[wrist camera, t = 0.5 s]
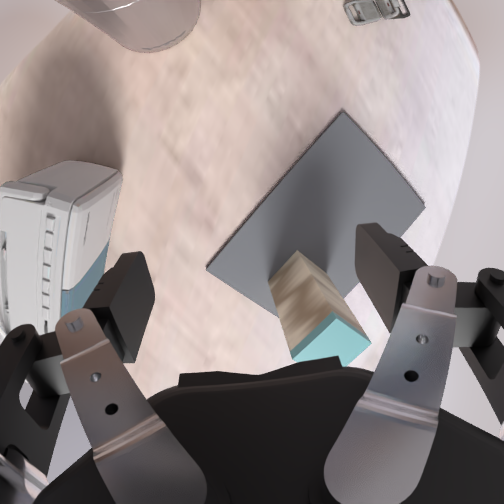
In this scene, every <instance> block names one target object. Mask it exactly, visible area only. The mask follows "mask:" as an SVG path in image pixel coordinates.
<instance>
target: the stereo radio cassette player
mask: <svg viewBox="0 0 504 504" xmlns="http://www.w3.org/2000/svg"><path fill="white" fill-rule="evenodd" d="M122 181H123V175H122V174H121V173H120V172H119V171H118V170H117V169H113V168H110V167H106V166H102V165H98V164H93V163H88V162H82V161H72V160H67V161H63V162H60V163H58V164H55V165H53V166H50V167H48V168H45V169H43V170H40V171H38V172H36V173H33V174H31V175H29V176H26V177H24V178H22V179H20V180H17V181H16V182H14V181H10V182H6V183H4V184H3V185H1V186H0V345H1V343H2V342H3V340H4V338H5V337H6V335H7V334H8V333H9V332H10V331H11V330H13V329H14V328H16V327H18V326H20V325H23V324H32V325H33V326H34V327H35V329H36V330H37V332H38V334H39V335H42V334H46V333H49V332H53V331H55V326H56V324H57V322H58V321H59V319H60V318H61V317H63V316H64V315H65V314H67V313H69V312H70V311H73V310H76V309H81V308H82V307H83V306H84V304H85V302H86V301H87V299H88V298H89V296H90V294H91V293H92V291H94V290H93V289H94V288H95V286H96V285H98V281H99V280H100V278H101V277H102V275H103V274H104V268H105V262H106V257H107V251H108V246H109V240H110V235H111V230H112V225H113V221H114V216H115V212H116V207H117V203H118V199H119V194H120V190H121V186H122ZM25 382H27V380H26V379H25ZM27 383H28V382H27Z"/></svg>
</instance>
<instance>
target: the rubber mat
mask: <svg viewBox="0 0 504 504" xmlns="http://www.w3.org/2000/svg"><path fill="white" fill-rule="evenodd" d="M425 208H426V207H425V206H424V204H423V203H422V202H421V200H420V199H419V198H418V197H417V195H416V194H415V193H414V191H413V190H412V189H411V188H410V186H409V185H408V184H407V183H406V181H405V180H404V179H403V178H402V176H401V175H400V174H399V173H398V172H397V170H396V169H395V168H394V167H393V166H392V164H391V163H390V162H389V161H388V160H387V159H386V157H385V156H384V155H383V154H382V153H381V152H380V151H379V149H378V148H377V147H376V146H375V145H374V144H373V143H372V142H371V141H370V139H369V138H368V137H367V136H366V135H365V134H364V133H363V132H362V131H361V130H360V129H359V128H358V127H357V126H356V125H355V123H354V122H353V121H352V120H351V119H350V118H349V117H348V116H347V115H346V114H345V113H344V112H341V113H340V115H339V116H338V117H337V118H336V119H335V120H334V121H333V122H332V123H331V125H330V126H329V127H328V128H327V129H326V130H325V131H324V132H323V134H322V135H321V136H320V137H319V138H318V139H317V140H316V141H315V143H314V144H313V145H312V146H311V147H310V148H309V149H308V150H307V152H306V153H305V154H304V155H303V156H302V157H301V158H300V160H299V161H298V162H297V163H296V164H295V165H294V166H293V168H292V169H291V170H290V171H289V172H288V173H287V174H286V176H285V177H284V178H283V179H282V180H281V181H280V182H279V184H278V185H277V186H276V187H275V188H274V189H273V190H272V192H271V193H270V194H269V195H268V196H267V197H266V199H265V200H264V201H263V202H262V203H261V204H260V206H259V207H258V208H257V209H256V210H255V211H254V213H253V214H252V215H251V216H250V217H249V218H248V220H247V221H246V222H245V223H244V224H243V225H242V227H241V228H240V229H239V230H238V231H237V232H236V234H235V235H234V236H233V237H232V238H231V240H230V241H229V242H228V243H227V244H226V245H225V247H224V248H223V249H222V250H221V251H220V253H219V254H218V255H217V256H216V257H215V259H214V260H213V261H212V262H211V263H210V265H209V266H208V267H207V268H206V271H208V272H209V273H211V274H212V275H214V276H215V277H217V278H218V279H220V280H221V281H223V282H224V283H226V284H227V285H229V286H230V287H232V288H234V289H235V290H237V291H238V292H240V293H241V294H243V295H244V296H246V297H247V298H249V299H250V300H252V301H253V302H255V303H257V304H258V305H260V306H261V307H263V308H264V309H266V310H267V311H269V312H271V313H272V314H274V315H275V316H277V317H278V318H279V316H278V312H277V309H276V306H275V303H274V300H273V297H272V294H271V291H270V287H269V284H268V281H269V280H270V279H271V278H272V277H273V276H274V275H275V274H276V273H277V271H278V270H279V269H280V268H281V267H282V266H283V265H284V264H285V263H286V262H287V261H288V260H289V258H290V257H291V256H292V255H293V254H294V253H295V252H296V251H297V250H298V251H299V252H300V253H302V254H303V255H304V256H305V257H307V258H308V259H309V260H310V261H312V262H313V263H314V264H315V265H317V266H318V267H319V268H320V269H322V270H323V271H324V272H325V273H327V275H328V276H329V278H330V279H331V281H332V282H333V284H334V285H335V287H336V288H337V290H338V291H339V293H340V295H341V296H342V298H343V299H344V298H345V296H346V295H347V294H348V293H349V292H350V291H351V290H352V289H353V288H354V287H355V286H356V285H357V284H358V283H359V282H360V281H359V279H358V277H357V275H356V271H355V237H356V227H357V225H358V224H365V223H374V222H377V223H378V224H379V225H380V226H381V227H382V228H383V229H384V230H385V231H386V232H387V233H391V234H393V235H395V236H397V237H401V236H402V235H403V234H404V233H405V231H406V230H407V229H408V228H409V227H410V226H411V224H412V223H413V222H414V221H415V220H416V219H417V217H418V216H419V215H420V214H421V213H422V211H423V210H424V209H425Z"/></svg>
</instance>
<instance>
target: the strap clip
mask: <svg viewBox="0 0 504 504" xmlns="http://www.w3.org/2000/svg"><path fill="white" fill-rule="evenodd" d="M401 2H402V4H403V6H404V8H405V10H406V13H407V14H406V15H403V14H402V12H401V10H400V8H399V7H400V5H399V3H398V1H397V0H376V3H377V5H378V7H379V9H380V11H381V14H382V16H383V18H384V19H400V18H405V17H408V16H410V12H409V10H408V8H407V6H406V4H405V1H404V0H401ZM350 5H353V7H354V9H355V11H356V13H357V15H358V18H359V20H360V22H356V21H355V19H354V17H353V15H352V13H351V11H350V9H349V7H348V6H350ZM343 7H344V10H345V12H346V14H347V16H348V18H349V20H350V22H351V24H352V25H355V26H360V25H365V24H369V23H373V22H376V21H379V20H380V18H381V15H380V12H379V10H378V8H377V6H376V4H375V2H374V1H372V0H355V1H351V2H348V3H346V4H345V5H344V6H343Z"/></svg>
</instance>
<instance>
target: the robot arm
mask: <svg viewBox="0 0 504 504" xmlns="http://www.w3.org/2000/svg"><path fill="white" fill-rule="evenodd" d="M55 1H57V2H58V3H60V4H62V5H64V6H65V7H67V8H68V9H70V10H71V11H73V12H74V13H76V14H78V15H79V16H81V17H82V18H84V19H85V20H87V21H88V22H90V23H91V24H93V25H94V26H95V27H97V28H98V29H100V30H101V31H103V32H104V33H106V34H107V35H108V36H110V37H111V38H113V39H114V40H115V41H117V42H118V43H120V44H121V45H122V46H124V47H126V48H128V49H130V50H132V51H136V52H144V53H151V52H158V51H161V50H165V49H168V48H170V47H172V46H174V45H176V44H178V43H179V42H180V41H182V40H183V39H184V38H185V37H186V36H187V35H188V34H189V33H190V32H191V31H192V29H193V28H194V26H195V25H196V23H197V20H198V18H199V14H200V0H55ZM355 271H356V275H357V277H358V279H359V281H360V283H361V284H362V286H363V288H364V289H365V291H366V293H367V294H368V296H369V298H370V299H371V301H372V303H373V305H374V306H375V308H376V310H377V312H378V313H379V315H380V317H381V319H382V320H383V322H384V324H385V326H386V327H387V329H388V331H389V333H391V335H390V337H389V340H388V342H387V344H386V347H385V349H384V352H383V354H382V356H381V359H380V361H379V363H378V365H377V368H376V370H375V372H372V371H369V370H366V369H361V368H356V367H343V366H342V364H341V361H340V358H339V356H332V357H326V358H320V359H314V360H308V361H301V362H298V363H295V364H292V365H289V366H286V367H283V368H280V369H277V370H274V371H271V372H268V373H265V374H261V375H250V374H240V373H230V372H221V371H213V372H199V373H182V374H180V376H179V383H178V385H177V386H173V387H171V388H168V389H165V390H163V391H161V392H158V393H157V394H155V395H153V396H151V397H150V398H148V399H147V400H146V398H145V397H144V395H143V394H142V392H141V391H140V389H139V388H138V386H137V385H136V383H135V382H134V380H133V379H132V377H131V376H130V374H129V372H128V371H127V369H126V368H125V366H124V364H123V363H135V361H136V357H137V354H138V351H139V348H140V345H141V341H142V338H143V335H144V332H145V329H146V326H147V323H148V320H149V317H150V314H151V311H152V308H153V305H154V301H155V291H154V286H153V283H152V280H151V277H150V273H149V270H148V267H147V263H146V260H145V257H144V255H143V253H142V252H141V251H138V252H131V253H124V254H122V255H121V256H120V258H119V259H118V261H117V262H116V264H115V266H114V267H113V268H111V269H109V270H108V271H107V272H106V273H105V274H103V275H102V277H101V278H100V280H99V281H98V285H96V286H95V288H94V289H93V290H94V291H92V293H91V294H90V296H89V298H88V299H87V301H86V302H85V304H84V306H83V307H82V308H81V309H76V310H73V311H70V312H69V313H67V314H65V315H64V316H63V317H61V318H60V319H59V321H58V322H57V324H56V326H55V331H53V332H49V333H46V334H42V335H39V334H38V332H37V330H36V329H35V327H34V326H33V325H32V324H23V325H20V326H18V327H16V328H14V329H13V330H11V331H10V332H9V333H8V334H7V335H6V337H5V338H4V340H3V342H2V343H1V345H0V504H504V346H503V345H502V343H501V342H500V340H499V339H498V338H497V334H498V331H499V329H500V326H502V328H503V329H504V271H502V270H499V269H495V268H485V269H482V270H481V271H480V272H479V274H478V277H477V281H476V283H474V282H473V283H471V282H457V278H456V276H455V275H454V274H453V273H452V272H450V271H449V270H447V269H445V268H442V267H439V266H428V265H427V264H426V263H425V262H424V261H423V260H422V259H421V258H420V257H419V256H418V255H417V254H416V253H415V252H413V250H412V249H411V248H410V247H409V246H408V245H407V244H406V243H405V242H404V241H403V240H402V239H401V238H400V237H397V236H395V235H393V234H391V233H387V232H386V231H385V230H384V229H383V228H382V227H381V226H380V225H379V224H378V223H377V222H374V223H365V224H358V225H357V227H356V237H355ZM453 347H459V349H460V351H461V352H462V354H463V356H464V357H465V359H466V361H467V362H468V364H469V366H470V367H471V369H472V371H473V373H474V375H475V376H476V378H477V380H478V382H479V383H480V385H481V387H482V389H483V391H484V393H485V394H486V396H487V398H488V400H489V402H490V404H491V406H492V408H493V410H494V412H495V414H496V416H497V418H498V420H499V422H500V424H501V427H500V438H498V437H495V436H493V435H492V434H490V433H488V432H485V431H484V430H482V429H480V428H478V427H476V426H474V425H472V424H470V423H468V422H466V421H464V420H462V419H461V418H459V417H457V416H455V415H453V414H451V413H449V412H447V411H445V410H444V409H441V408H440V405H441V401H442V397H443V393H444V389H445V384H446V379H447V375H448V370H449V364H450V359H451V354H452V348H453ZM25 379H26V380H27V382H28V383H29V384H30V386H31V387H32V388H33V392H32V395H31V397H30V399H29V402H28V404H27V406H26V409H25V410H24V409H23V407H22V406H21V403H20V400H19V393H20V390H21V388H22V385H23V383H24V381H25ZM70 396H71V398H72V400H73V403H74V406H75V408H76V411H77V413H78V416H79V419H80V421H81V424H82V426H83V428H84V431H85V433H86V435H87V438H88V440H89V442H90V444H91V447H92V448H91V449H90V450H89V451H88V452H87V453H85V454H84V455H83V456H82V457H81V458H79V459H78V460H77V461H76V462H75V463H74V464H72V465H71V466H70V467H69V468H68V469H67V470H65V471H64V472H63V473H62V474H61V475H59V476H58V477H57V478H56V479H55V480H54V481H52V482H51V483H50V484H48V480H47V474H48V470H49V466H50V462H51V458H52V455H53V451H54V447H55V444H56V440H57V437H58V433H59V430H60V427H61V423H62V420H63V416H64V414H65V411H66V407H67V404H68V401H69V398H70Z"/></svg>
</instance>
